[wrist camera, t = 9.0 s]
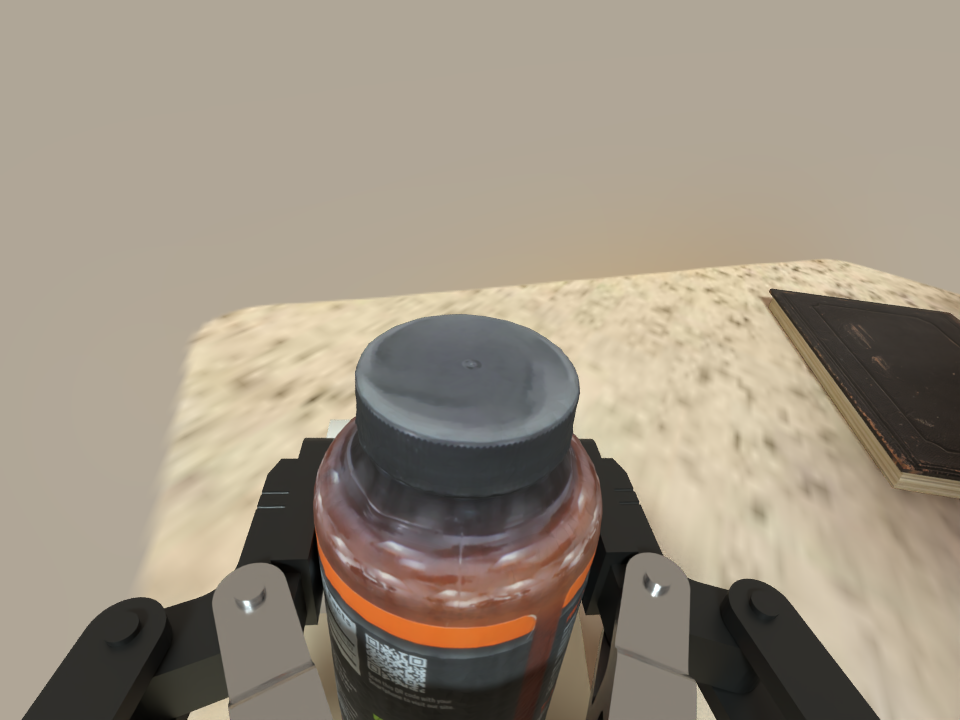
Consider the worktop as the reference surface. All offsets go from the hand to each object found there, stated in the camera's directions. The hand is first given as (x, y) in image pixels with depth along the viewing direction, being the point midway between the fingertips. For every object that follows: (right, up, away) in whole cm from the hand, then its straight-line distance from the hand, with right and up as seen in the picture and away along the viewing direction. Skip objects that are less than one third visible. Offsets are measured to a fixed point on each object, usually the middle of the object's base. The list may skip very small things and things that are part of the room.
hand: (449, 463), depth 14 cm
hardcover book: (+33, 0, +25) cm, 41 cm away
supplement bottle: (0, -7, +2) cm, 7 cm away
